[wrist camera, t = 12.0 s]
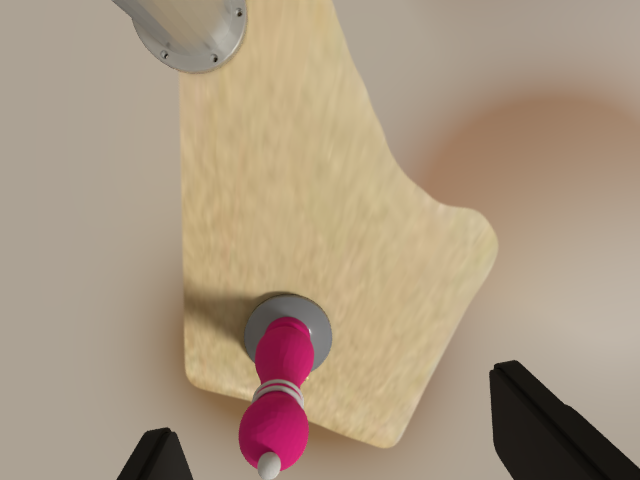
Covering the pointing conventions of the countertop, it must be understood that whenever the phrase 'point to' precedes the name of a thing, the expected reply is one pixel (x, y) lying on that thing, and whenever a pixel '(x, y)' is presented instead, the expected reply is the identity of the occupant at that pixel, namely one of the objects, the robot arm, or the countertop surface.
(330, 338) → the grey flat disc
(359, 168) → the countertop surface
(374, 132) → the countertop surface
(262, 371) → the pepper mill
